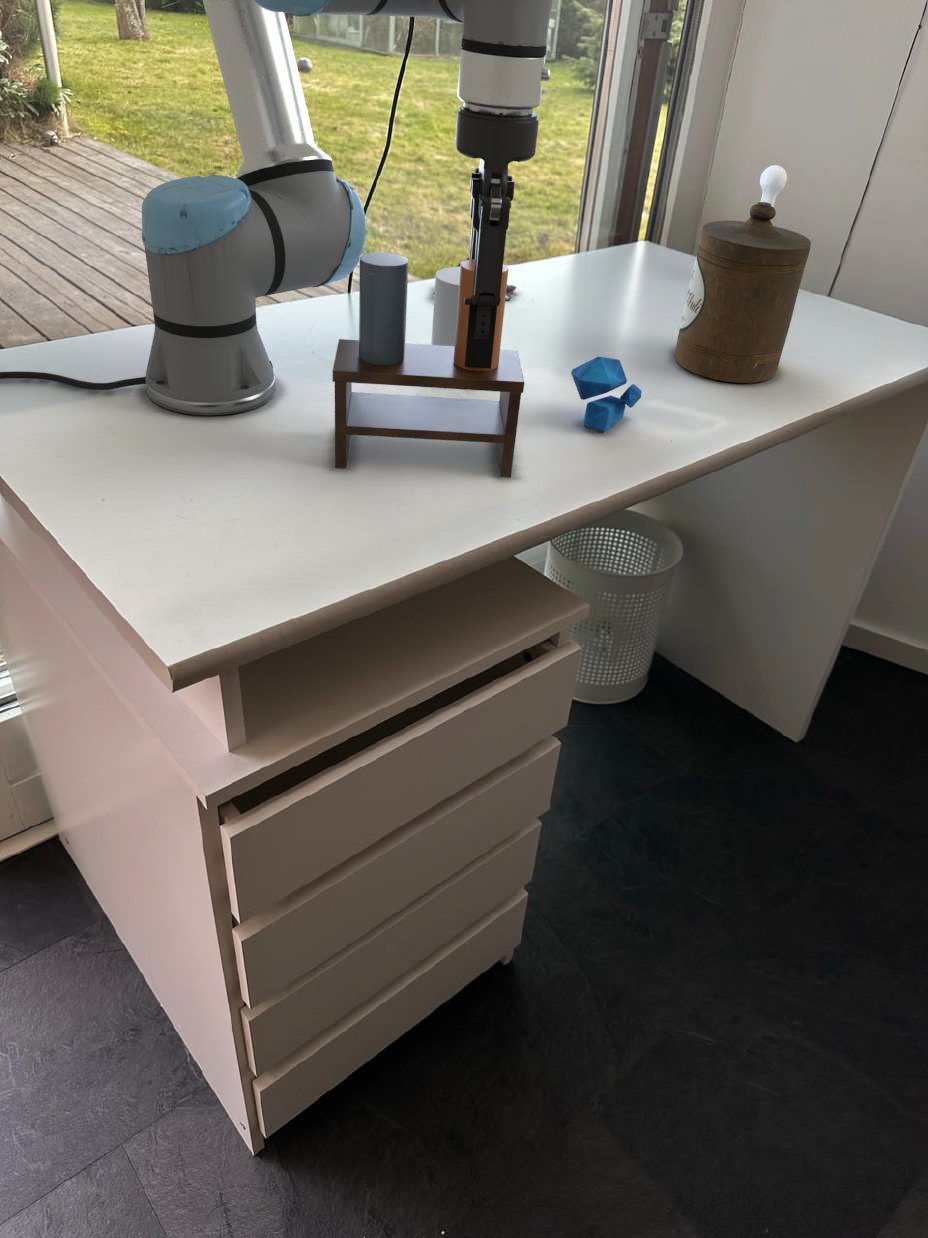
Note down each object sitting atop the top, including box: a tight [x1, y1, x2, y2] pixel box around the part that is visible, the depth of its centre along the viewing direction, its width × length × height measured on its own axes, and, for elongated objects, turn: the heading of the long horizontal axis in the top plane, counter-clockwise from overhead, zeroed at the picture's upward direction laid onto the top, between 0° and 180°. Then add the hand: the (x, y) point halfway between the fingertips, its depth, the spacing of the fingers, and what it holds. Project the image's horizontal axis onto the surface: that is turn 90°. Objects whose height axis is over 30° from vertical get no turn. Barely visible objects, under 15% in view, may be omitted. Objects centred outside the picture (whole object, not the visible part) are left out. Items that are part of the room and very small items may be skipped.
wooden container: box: [673, 201, 812, 384], centre depth 128 cm, size 15×15×22 cm
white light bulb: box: [759, 164, 788, 208], centre depth 161 cm, size 11×8×20 cm
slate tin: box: [358, 251, 409, 365], centre depth 94 cm, size 5×5×10 cm
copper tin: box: [454, 259, 509, 371], centre depth 94 cm, size 5×5×10 cm
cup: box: [430, 266, 460, 346], centre depth 122 cm, size 8×8×12 cm
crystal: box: [570, 356, 642, 433], centre depth 112 cm, size 7×9×12 cm
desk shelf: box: [332, 338, 525, 478], centre depth 100 cm, size 20×9×11 cm, turn 92°
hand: (476, 356), depth 97 cm, fingers closed on copper tin, 5 cm apart
